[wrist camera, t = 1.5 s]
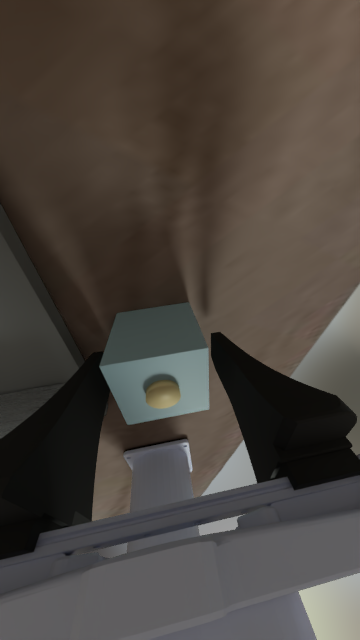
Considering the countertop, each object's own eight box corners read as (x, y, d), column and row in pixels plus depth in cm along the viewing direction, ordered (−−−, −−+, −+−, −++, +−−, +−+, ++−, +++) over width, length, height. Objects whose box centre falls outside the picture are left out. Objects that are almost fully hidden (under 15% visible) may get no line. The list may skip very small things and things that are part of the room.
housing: (192, 354, 15) (211, 415, 11) (134, 364, 15) (126, 432, 10) (188, 301, 12) (210, 353, 8) (117, 312, 12) (96, 373, 8)
